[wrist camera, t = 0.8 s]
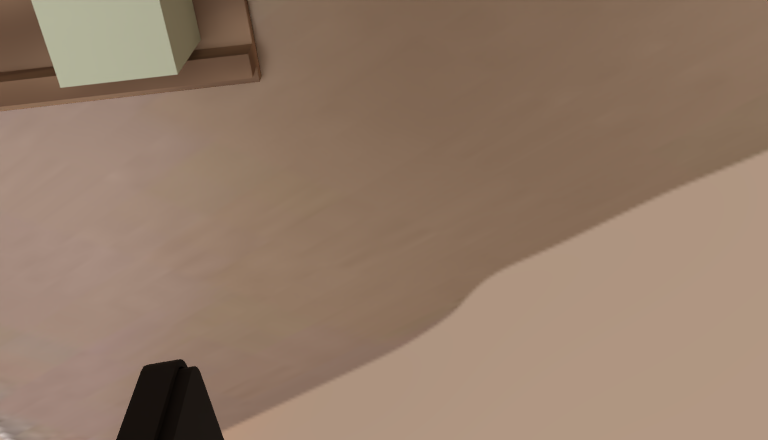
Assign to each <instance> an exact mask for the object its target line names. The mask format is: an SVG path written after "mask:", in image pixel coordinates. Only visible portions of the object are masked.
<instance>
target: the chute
mask: <svg viewBox="0 0 768 440" xmlns="http://www.w3.org/2000/svg"><path fill="white" fill-rule="evenodd" d="M192 2H193V7H194V11H195V16H196V20H197V25H198V29H199V33H200V38H201V40H200V42H199V43H198V45H197V46H196V48H195V49H194V51H193V52H192V54H191V55H190V57H189V58H188V60H187V61H186V63H185V64H184V66H183V67H182V69H181V70H180V72H179V73H178V74H177V75H169V76H160V77H151V78H142V79H134V80H125V81H116V82H107V83H98V84H90V85H81V86H72V87H63V88H60V85H59V82H58V79H57V76H56V73H55V70H54V67H53V64H52V61H51V58H50V55H49V52H48V49H47V46H46V43H45V40H44V37H43V34H42V31H41V28H40V25H39V22H38V19H37V16H36V13H35V10H34V7H33V4H32V1H31V0H0V111H7V110H15V109H24V108H33V107H42V106H50V105H59V104H68V103H76V102H85V101H94V100H103V99H111V98H120V97H129V96H138V95H146V94H155V93H164V92H173V91H181V90H190V89H199V88H207V87H216V86H225V85H234V84H242V83H251V82H260V78H261V72H260V67H259V61H258V56H257V51H256V45H255V40H254V35H253V29H252V24H251V19H250V13H249V8H248V3H247V0H192Z"/></svg>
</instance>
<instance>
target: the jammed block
mask: <svg viewBox="0 0 768 440" xmlns="http://www.w3.org/2000/svg"><path fill="white" fill-rule="evenodd" d="M31 1H32V4H33V7H34V10H35V13H36V16H37V19H38V22H39V25H40V28H41V31H42V34H43V37H44V40H45V43H46V46H47V49H48V52H49V55H50V58H51V61H52V64H53V67H54V70H55V73H56V76H57V79H58V82H59V85H60V88H63V87H72V86H81V85H90V84H98V83H107V82H116V81H125V80H134V79H142V78H151V77H160V76H169V75H177V74H178V73H179V72H180V70H181V69H182V67H183V66H184V64H185V63H186V61H187V60H188V58H189V57H190V55H191V54H192V52H193V51H194V49H195V48H196V46H197V45H198V43H199V42H200V40H201V38H200V33H199V29H198V25H197V20H196V16H195V11H194V7H193V2H192V0H31Z"/></svg>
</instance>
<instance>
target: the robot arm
mask: <svg viewBox="0 0 768 440" xmlns="http://www.w3.org/2000/svg"><path fill="white" fill-rule="evenodd" d="M116 440H224V438H223V436H222V433H221V430H220V427H219V424H218V421H217V418H216V416H215V413H214V410H213V407H212V404H211V401H210V399H209V396H208V393H207V390H206V387H205V384H204V382H203V379H202V376H201V373H200V371H199V369H198V368H197V367H196V366H193V367H187V365H186V363H185V362H184V361H183V360H181V359H179V360H173V361H167V362H161V363H155V364H149V365H146V366H144V367H143V369H142V371H141V373H140V376H139V378H138V381H137V384H136V387H135V389H134V392H133V395H132V398H131V400H130V403H129V406H128V409H127V411H126V414H125V417H124V420H123V422H122V425H121V428H120V431H119V433H118V436H117V439H116Z"/></svg>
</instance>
